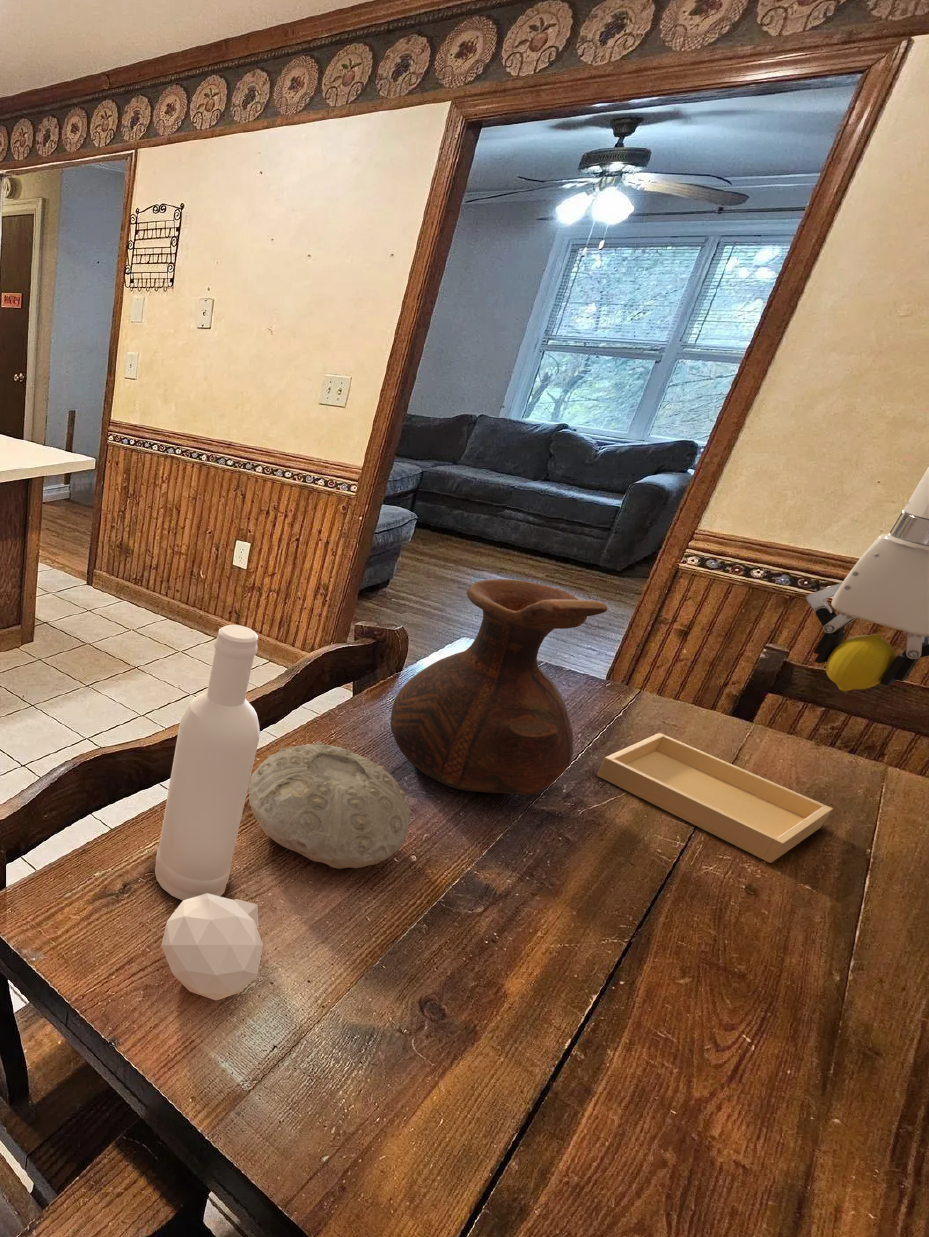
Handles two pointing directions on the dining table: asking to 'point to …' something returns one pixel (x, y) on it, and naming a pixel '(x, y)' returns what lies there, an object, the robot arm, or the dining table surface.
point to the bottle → (210, 774)
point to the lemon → (860, 662)
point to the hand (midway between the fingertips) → (854, 670)
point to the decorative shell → (329, 805)
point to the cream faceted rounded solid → (213, 945)
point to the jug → (494, 697)
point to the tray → (715, 795)
